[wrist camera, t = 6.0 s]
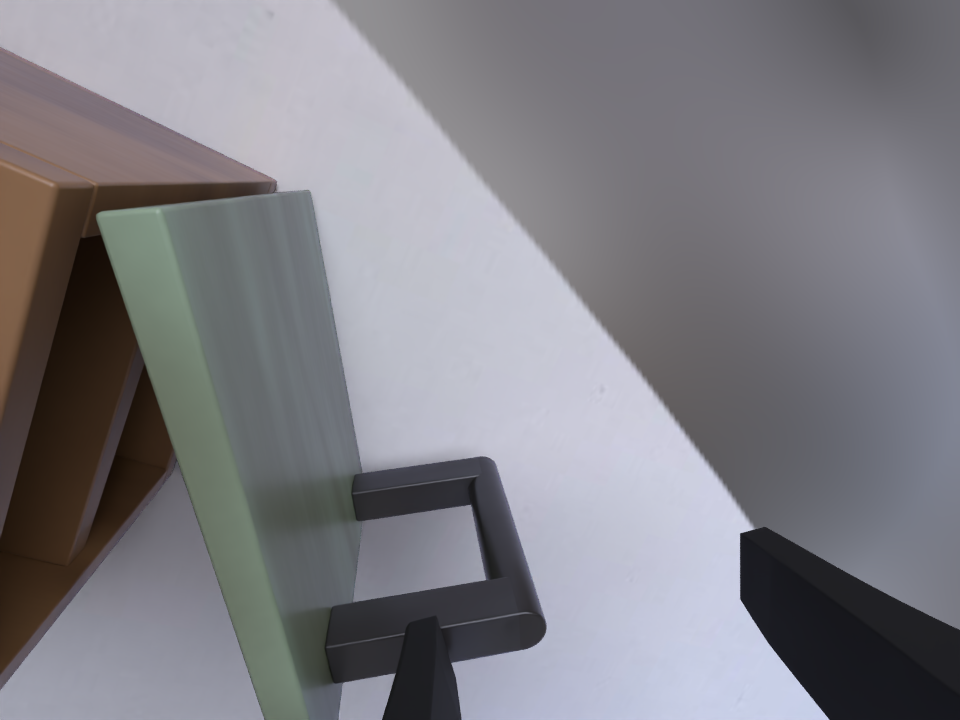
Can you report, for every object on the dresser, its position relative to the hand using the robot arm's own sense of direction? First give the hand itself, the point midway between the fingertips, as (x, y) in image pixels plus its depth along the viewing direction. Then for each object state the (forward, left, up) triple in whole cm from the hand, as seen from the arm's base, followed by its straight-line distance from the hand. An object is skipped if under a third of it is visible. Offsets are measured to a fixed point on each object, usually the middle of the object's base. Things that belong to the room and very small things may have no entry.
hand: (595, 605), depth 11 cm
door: (+5, -1, -9) cm, 10 cm away
